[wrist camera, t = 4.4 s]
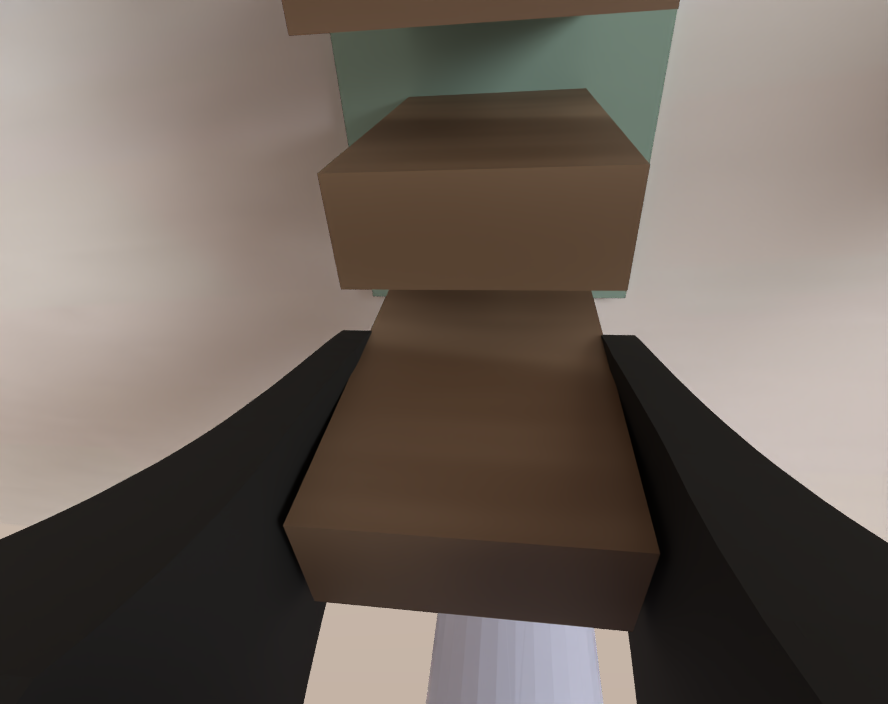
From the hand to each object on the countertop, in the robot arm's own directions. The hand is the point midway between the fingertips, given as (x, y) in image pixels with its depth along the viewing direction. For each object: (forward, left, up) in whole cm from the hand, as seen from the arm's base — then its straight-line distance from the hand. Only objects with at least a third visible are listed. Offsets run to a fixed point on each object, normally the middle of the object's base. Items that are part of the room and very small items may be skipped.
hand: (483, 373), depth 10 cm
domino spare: (0, 0, -3) cm, 3 cm away
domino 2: (+3, 0, -6) cm, 7 cm away
